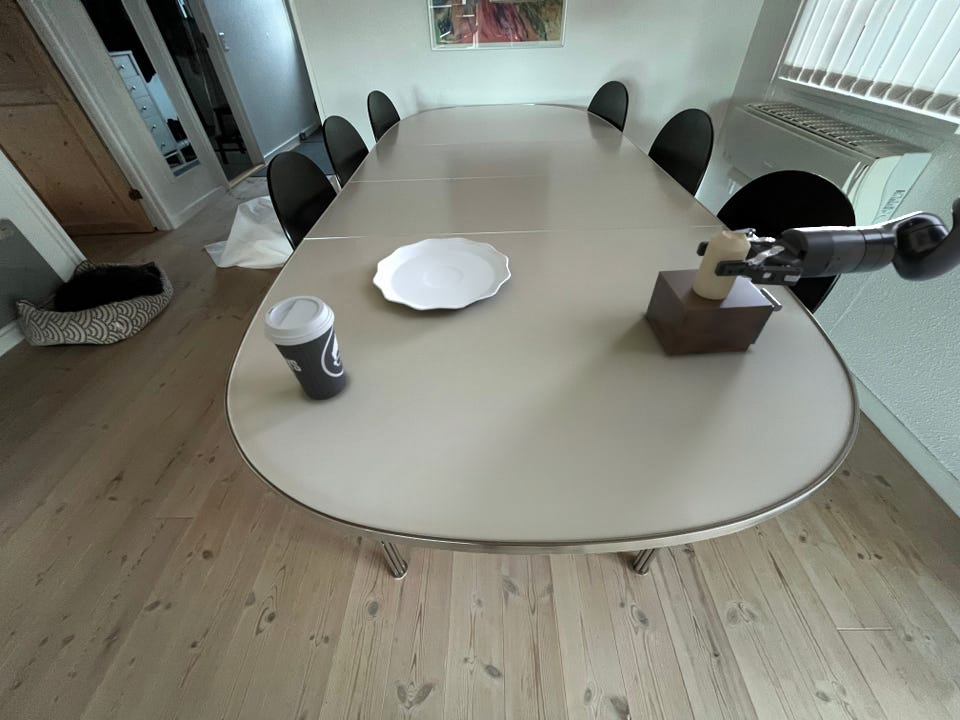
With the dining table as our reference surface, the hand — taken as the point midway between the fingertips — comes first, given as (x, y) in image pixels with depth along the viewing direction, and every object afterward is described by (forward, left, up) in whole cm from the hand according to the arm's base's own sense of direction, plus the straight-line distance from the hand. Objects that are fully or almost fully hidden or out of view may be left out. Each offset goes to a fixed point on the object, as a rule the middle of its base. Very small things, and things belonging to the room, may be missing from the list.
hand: (708, 258), depth 62 cm
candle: (-3, 0, -6) cm, 7 cm away
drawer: (-7, -1, -15) cm, 16 cm away
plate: (+43, -24, -16) cm, 51 cm away
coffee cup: (+62, +7, -16) cm, 64 cm away
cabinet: (-3, -1, -16) cm, 16 cm away
